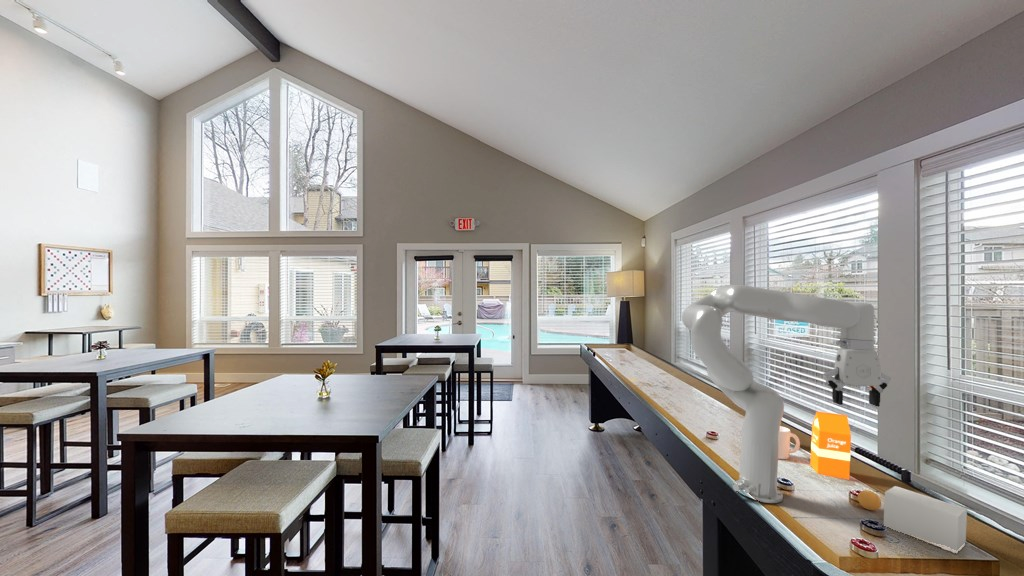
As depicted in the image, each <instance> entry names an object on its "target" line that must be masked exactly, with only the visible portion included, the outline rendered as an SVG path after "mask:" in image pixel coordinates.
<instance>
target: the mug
mask: <svg viewBox="0 0 1024 576" xmlns="http://www.w3.org/2000/svg"><path fill="white" fill-rule="evenodd" d="M791 438H793V439H794V441H795V444H794V445H795V446H794V447H793V448H790V446H791ZM800 447H801V441H800V438H799V437H798V435H796V433H793V432H791V429H790V428H788V427H785V426H782V425H780V431H779V450H778V460H780V459H786V460H788V459H789V458H790V454H794V453H796V452H797V451H798V450H799V449H800Z"/></svg>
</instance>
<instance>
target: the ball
mask: <svg viewBox="0 0 1024 576" xmlns="http://www.w3.org/2000/svg"><path fill="white" fill-rule="evenodd" d="M857 500H858V503H859V505H861V506H862V507H863V508H864V509H865V510H867V511H877V510H879V509H880V508H881V506H882V501H881V498H880V497H879V495H878V494H877V493H875V492H874V491H871V490H868V489H866V490H862V491H860V492H859V493H858V495H857Z"/></svg>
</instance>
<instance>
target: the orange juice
mask: <svg viewBox="0 0 1024 576" xmlns="http://www.w3.org/2000/svg"><path fill="white" fill-rule="evenodd" d="M848 419H849V418H848V415H847V414H839V413H832V412H823V411H816V412H815V416H814V418H813V422H812V424H811V441H810V442H811V443H810V465H811V466H812V467H813V468H812V467H811V466H810V467H811V468H812V469H813V471H814V470H815V471H816V472H817V473H818V474H817V473H816V472H815V471H814V472H815V473H816V474H817V475H820V474H822V475H821V476H827V477H834V478H837V479H838V478H839V479H845V480H850V466H851V449H852V448H851V446H852V445H851V444H852V434H851V427H850V424H849V420H848Z"/></svg>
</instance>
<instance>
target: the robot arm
mask: <svg viewBox="0 0 1024 576" xmlns="http://www.w3.org/2000/svg"><path fill="white" fill-rule="evenodd" d="M728 313H736V314H740V315H741V314H742V315H748V316H753V317H759V318H766V319H769V320H770V319H771V320H776V321H783V322H796V323H797V322H799V323H807V324H814V325H816V326H820V327H823V328H833V329H834V328H835V329H840V334H839V335H840V338H839V340H836V342H835V344H836V346H839V348H838V349H837V351H836V355H835V361H834V368H833V369H831V370H828V371H827V372H824V373H823V374H822V376H823V378H824V381H825V383H826V384H827V385H828V386H829V387H830V389H831V390H832V401H833V404H834V403H835V404H837V405H840V406H841V405H843V404H844V401H843V400H844V399H843V398H844V397H843V395H844V392H843V390H842V389H843V388H844V387H845V386H846V385H847V386H858V387H869V389H871V390H869V391H868V404H870V405H872V406H875V407H876V408H877V407H880V404H881V393H883V392H884V390H885V389H886V388H887V387H888V384H889V383H890V381H891V377H890V376H889V375H886V374H885V373H883V372H881V371H882V370H881V363H880V358H879V353H878V351H877V350H875V307H874V305H872V304H871V303H867V302H849V301H844V300H837V299H831V298H826V297H819V296H812V295H811V296H810V295H805V294H799V293H794V292H786V291H782V290H776V289H769V288H764V287H757V286H751V285H744V284H725V285H721V286H719V287H717V288H715V289H714V290H713V291H711V292H708V294H706V295H705V296H702V297H701V298H698V300H696V301H694V302H692V303H691V304H689V305H688V306H686V308H685V309H684V310H683V312H682V315H681V321H682V323H683V325H684V327H685V328H687V329H688V330H690V342H691V343H690V345H691V348H692V350H693V352H694V354H695V356H696V357H697V358H698V359H699V360H700V362H702V364H703V365H704V366H705V367H706V372H707V376H708V378H709V379H710V381H711V382H713V384H714V385H715V386H716V387H717V388H718V389H719V390H720V391H721V392H722V393H723V394H724V395H725V396H726V397H727V398H728V399H730V401H732V403H733V404H734V405H736V406H737V407H739V408H740V409H742V410H743V411H745V414H744V419H743V421H742V423H741V434H740V438H741V439H740V455H739V456H740V458H739V479H736V480H735V481H734V482H736V483H737V484H734V485H733V484H732V489H733V491H734V492H736V491H740V490H745V492H746V493H749V494H750V495H751V496H753V497H754V498H756V499H757V500H758V501H757V502H759V501H760V502H761V503H766V504H777V503H778V504H779V503H781V502H782V501H783V500H784V497H783V496H784V495H783V493H782V492H781V491H780V490H779V489H777V486H778V485H777V484H778V469H779V459H778V450H779V431H780V426H781V423H782V419H783V416H784V411H785V403H784V400H783V398H782V396H781V395H780V394H779V392H777V391H776V390H774V389H773V388H771V387H770V386H767V385H766V384H762V383H759V382H757V381H755V380H754V376H753V371H752V369H751V368H750V367H749V366H748V365H747V364H746V363H745V362H744V361H743V360H742V359H741V358H739V356H737V355H736V354H735V353H734V351H732V350H731V349H730V347H729V346H728V345H727V344H726V343H725V342H724V340H723V339H722V334H721V333H722V326H723V317H724V316H726V315H727V314H728ZM833 377H834V380H833Z"/></svg>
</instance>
